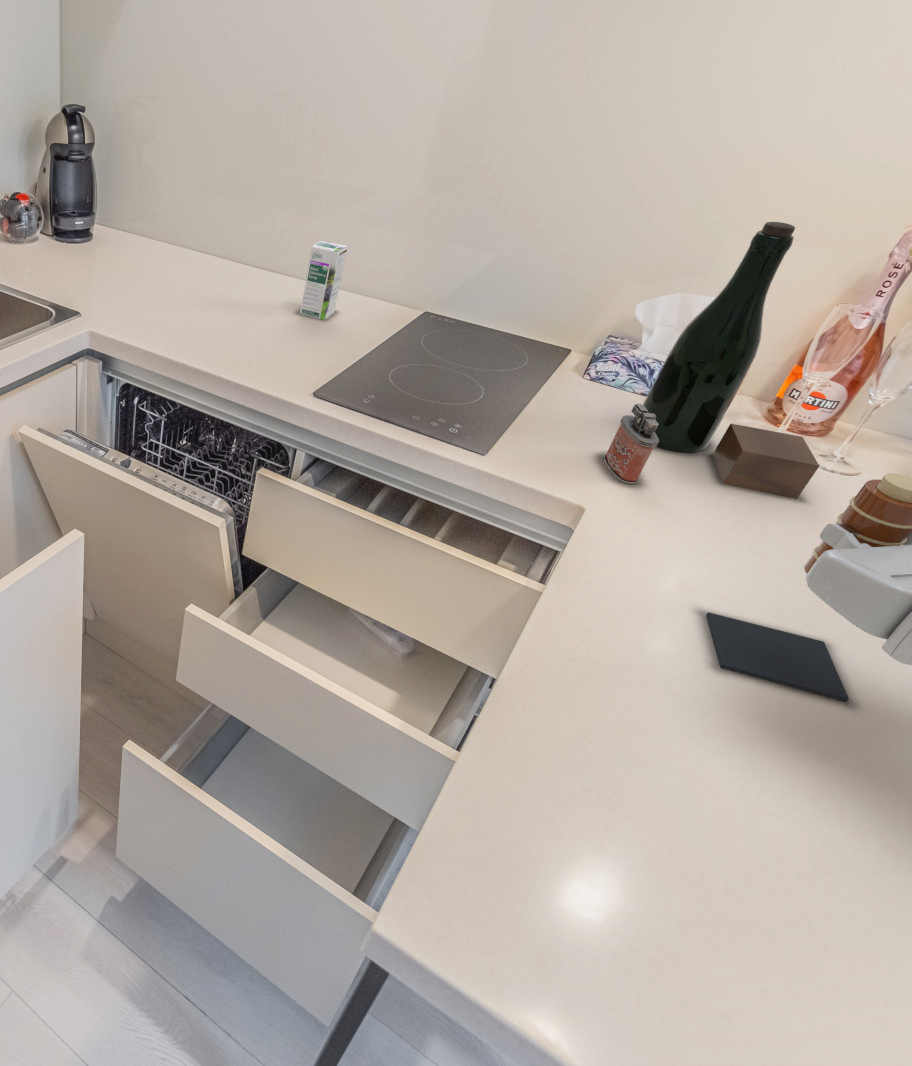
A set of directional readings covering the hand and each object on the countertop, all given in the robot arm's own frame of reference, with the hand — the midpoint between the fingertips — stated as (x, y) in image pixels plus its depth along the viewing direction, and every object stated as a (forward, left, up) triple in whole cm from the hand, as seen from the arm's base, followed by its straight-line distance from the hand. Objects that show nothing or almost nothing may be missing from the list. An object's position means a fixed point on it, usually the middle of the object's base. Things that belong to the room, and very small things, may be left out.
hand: (859, 527), depth 72 cm
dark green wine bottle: (+4, -50, -17) cm, 53 cm away
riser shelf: (-6, -42, -17) cm, 46 cm away
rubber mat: (0, +1, -17) cm, 17 cm away
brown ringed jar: (0, +1, -5) cm, 6 cm away
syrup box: (+66, -78, -17) cm, 104 cm away
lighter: (+12, -35, -17) cm, 41 cm away
